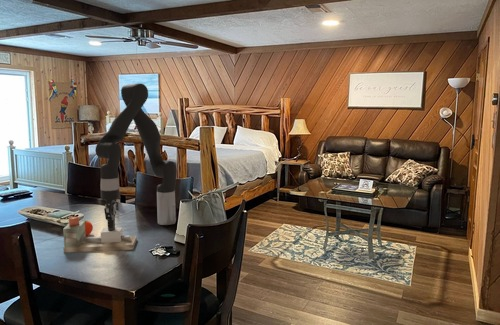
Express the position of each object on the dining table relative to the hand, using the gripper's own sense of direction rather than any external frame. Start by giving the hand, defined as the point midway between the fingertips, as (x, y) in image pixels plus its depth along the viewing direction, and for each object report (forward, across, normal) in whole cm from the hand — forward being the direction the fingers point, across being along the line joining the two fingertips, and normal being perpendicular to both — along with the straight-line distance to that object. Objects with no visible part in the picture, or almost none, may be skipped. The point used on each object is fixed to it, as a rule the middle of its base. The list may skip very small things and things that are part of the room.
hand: (111, 226), depth 167 cm
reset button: (0, 0, +15) cm, 15 cm away
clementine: (+9, +16, +16) cm, 24 cm away
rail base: (+9, 0, +4) cm, 10 cm away
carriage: (+6, 0, 0) cm, 6 cm away
